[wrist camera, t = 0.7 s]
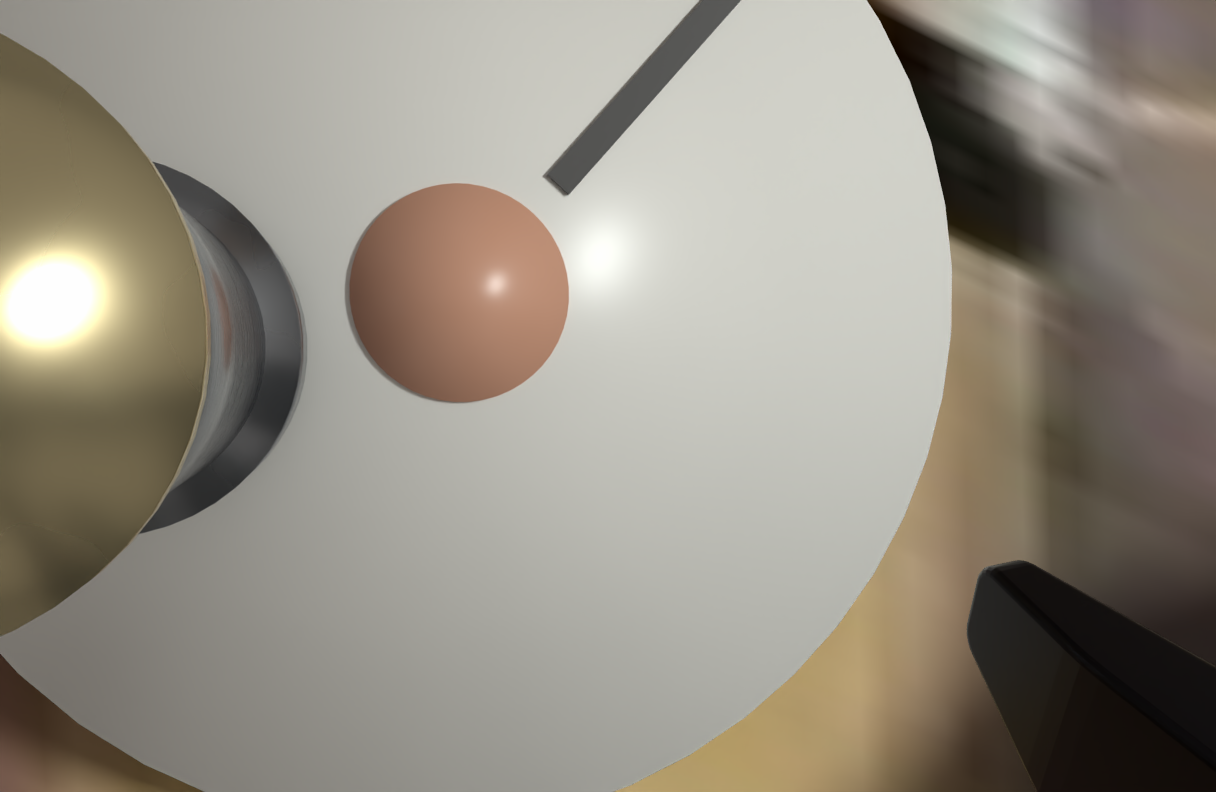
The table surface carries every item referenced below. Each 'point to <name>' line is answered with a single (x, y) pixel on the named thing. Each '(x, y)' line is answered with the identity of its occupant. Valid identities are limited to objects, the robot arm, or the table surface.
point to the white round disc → (520, 381)
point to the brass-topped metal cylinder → (121, 340)
